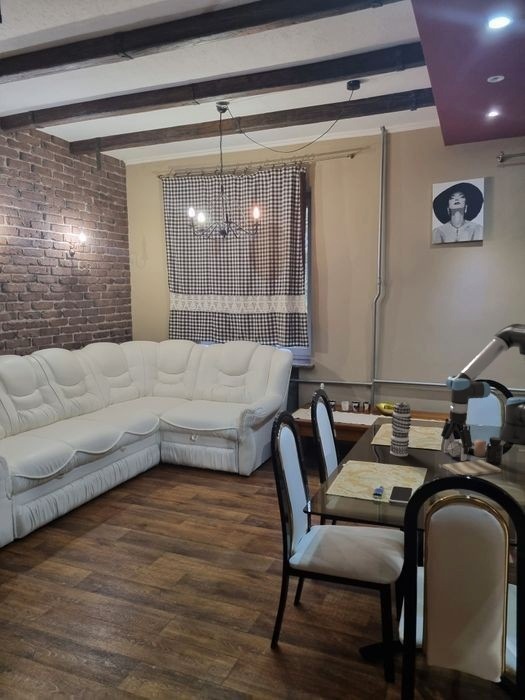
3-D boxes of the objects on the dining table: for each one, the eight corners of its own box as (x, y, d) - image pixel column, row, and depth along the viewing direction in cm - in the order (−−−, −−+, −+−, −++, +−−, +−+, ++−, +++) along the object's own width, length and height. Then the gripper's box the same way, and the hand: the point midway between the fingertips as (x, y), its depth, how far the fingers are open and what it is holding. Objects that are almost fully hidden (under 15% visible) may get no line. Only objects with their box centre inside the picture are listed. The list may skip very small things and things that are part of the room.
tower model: (394, 457, 233) (398, 405, 229) (385, 450, 242) (389, 400, 238) (412, 456, 235) (416, 405, 231) (403, 449, 244) (406, 400, 240)
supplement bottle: (500, 462, 230) (502, 437, 228) (502, 467, 224) (504, 441, 222) (484, 460, 232) (486, 435, 231) (485, 464, 226) (488, 439, 224)
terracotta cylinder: (479, 452, 242) (480, 439, 241) (487, 456, 237) (488, 442, 236) (471, 453, 240) (472, 440, 239) (479, 457, 236) (480, 443, 235)
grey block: (461, 448, 248) (462, 439, 247) (468, 451, 244) (469, 442, 243) (453, 449, 246) (454, 439, 246) (460, 452, 242) (461, 443, 241)
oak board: (480, 462, 229) (480, 459, 229) (500, 471, 218) (501, 469, 218) (442, 467, 221) (442, 464, 221) (461, 477, 210) (461, 474, 210)
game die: (458, 465, 234) (468, 454, 227) (441, 458, 235) (450, 446, 228) (459, 452, 241) (469, 440, 234) (442, 444, 242) (452, 432, 235)
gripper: (435, 405, 241) (432, 449, 244) (470, 418, 220) (466, 465, 223) (447, 404, 244) (444, 447, 247) (483, 417, 222) (479, 464, 225)
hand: (454, 456), depth 235 cm, fingers open, 11 cm apart
